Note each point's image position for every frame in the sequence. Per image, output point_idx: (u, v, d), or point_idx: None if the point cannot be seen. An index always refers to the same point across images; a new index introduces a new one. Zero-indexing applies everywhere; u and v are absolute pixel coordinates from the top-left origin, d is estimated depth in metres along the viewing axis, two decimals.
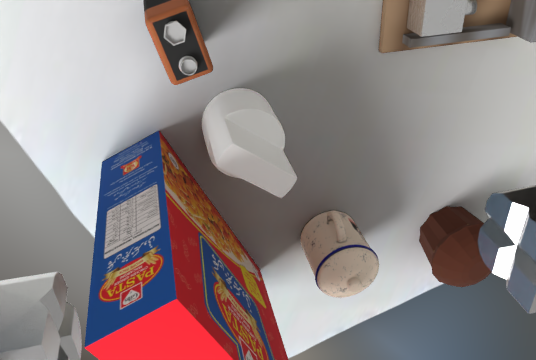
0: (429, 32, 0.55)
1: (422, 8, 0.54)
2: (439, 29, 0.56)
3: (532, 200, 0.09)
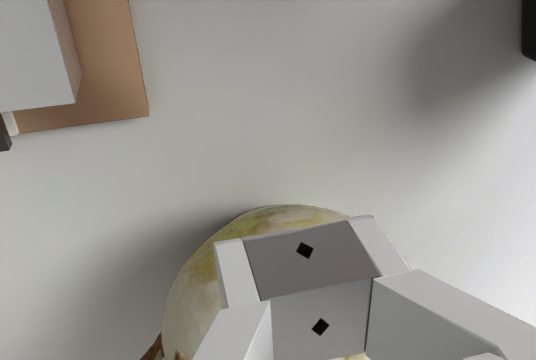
0: (22, 9, 0.19)
1: (67, 66, 0.21)
2: None
3: (322, 239, 0.08)
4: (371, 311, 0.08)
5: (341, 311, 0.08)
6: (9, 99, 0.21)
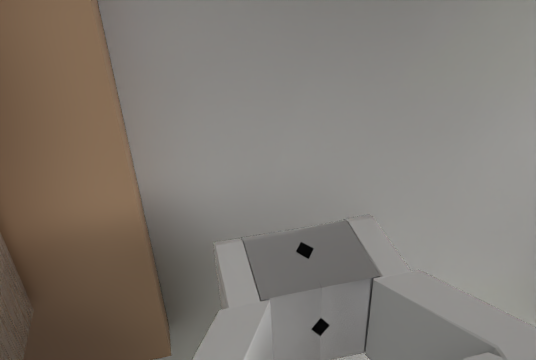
0: None
1: None
2: None
3: (322, 239, 0.08)
4: (371, 311, 0.08)
5: (341, 310, 0.08)
6: None
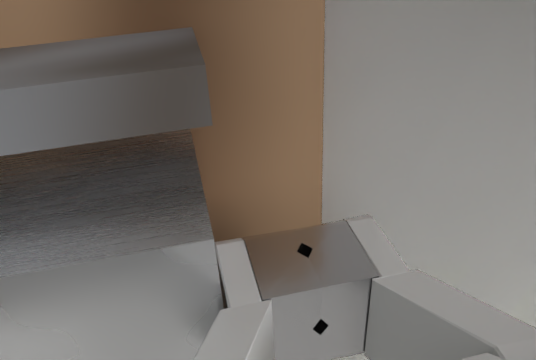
0: (148, 272, 0.07)
1: None
2: (62, 303, 0.07)
3: (321, 239, 0.08)
4: (370, 311, 0.08)
5: (340, 311, 0.08)
6: None
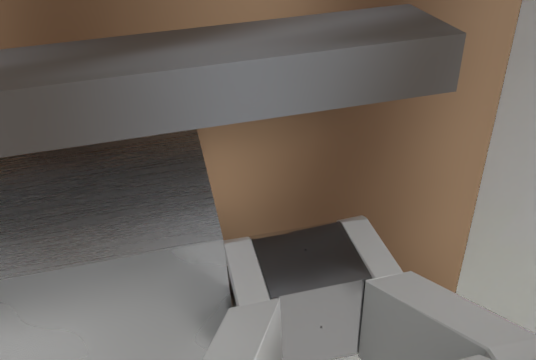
0: (157, 273, 0.07)
1: None
2: (70, 303, 0.07)
3: (315, 241, 0.08)
4: (364, 313, 0.08)
5: (334, 312, 0.08)
6: None
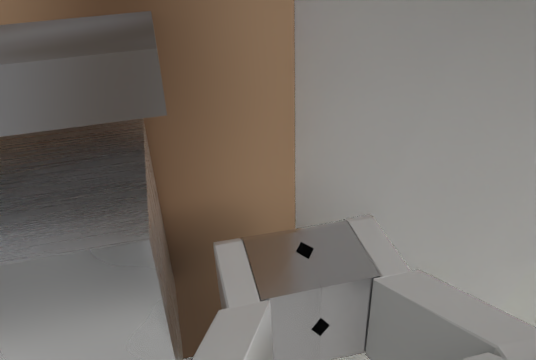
0: (77, 276, 0.06)
1: None
2: None
3: (322, 239, 0.08)
4: (371, 311, 0.08)
5: (341, 311, 0.08)
6: None
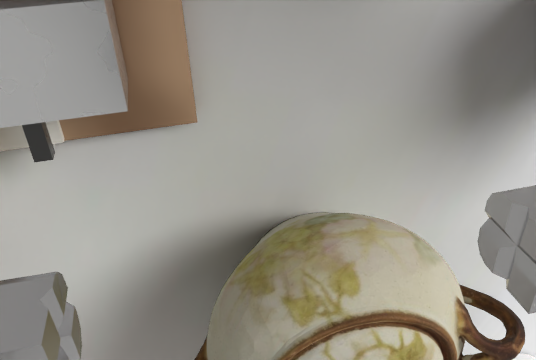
0: (79, 13, 0.18)
1: (120, 73, 0.20)
2: (45, 23, 0.18)
3: (532, 200, 0.09)
4: None
5: None
6: (60, 107, 0.20)
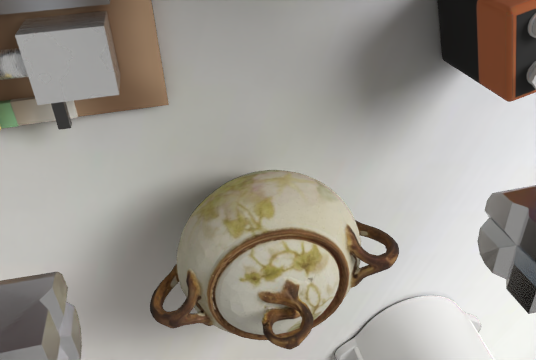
0: (89, 34, 0.29)
1: (114, 70, 0.31)
2: (68, 40, 0.29)
3: (532, 200, 0.09)
4: None
5: None
6: (76, 92, 0.31)
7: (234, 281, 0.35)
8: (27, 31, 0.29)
